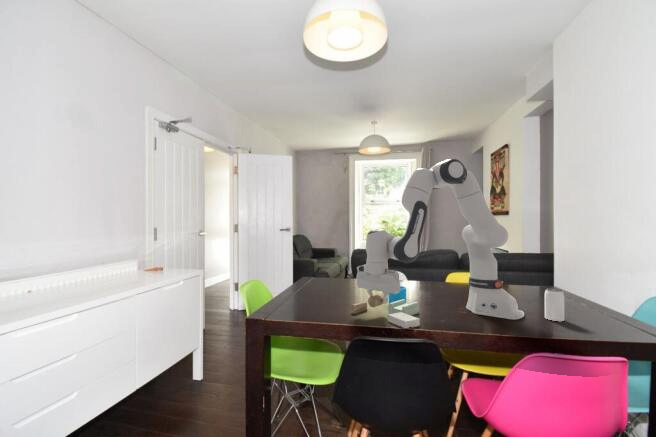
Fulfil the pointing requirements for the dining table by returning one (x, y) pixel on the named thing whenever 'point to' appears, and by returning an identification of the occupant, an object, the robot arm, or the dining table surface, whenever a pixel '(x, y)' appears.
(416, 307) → the cradle
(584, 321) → the dining table surface
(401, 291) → the mug
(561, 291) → the can
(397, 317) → the slab
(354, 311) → the wooden brick
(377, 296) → the roller
